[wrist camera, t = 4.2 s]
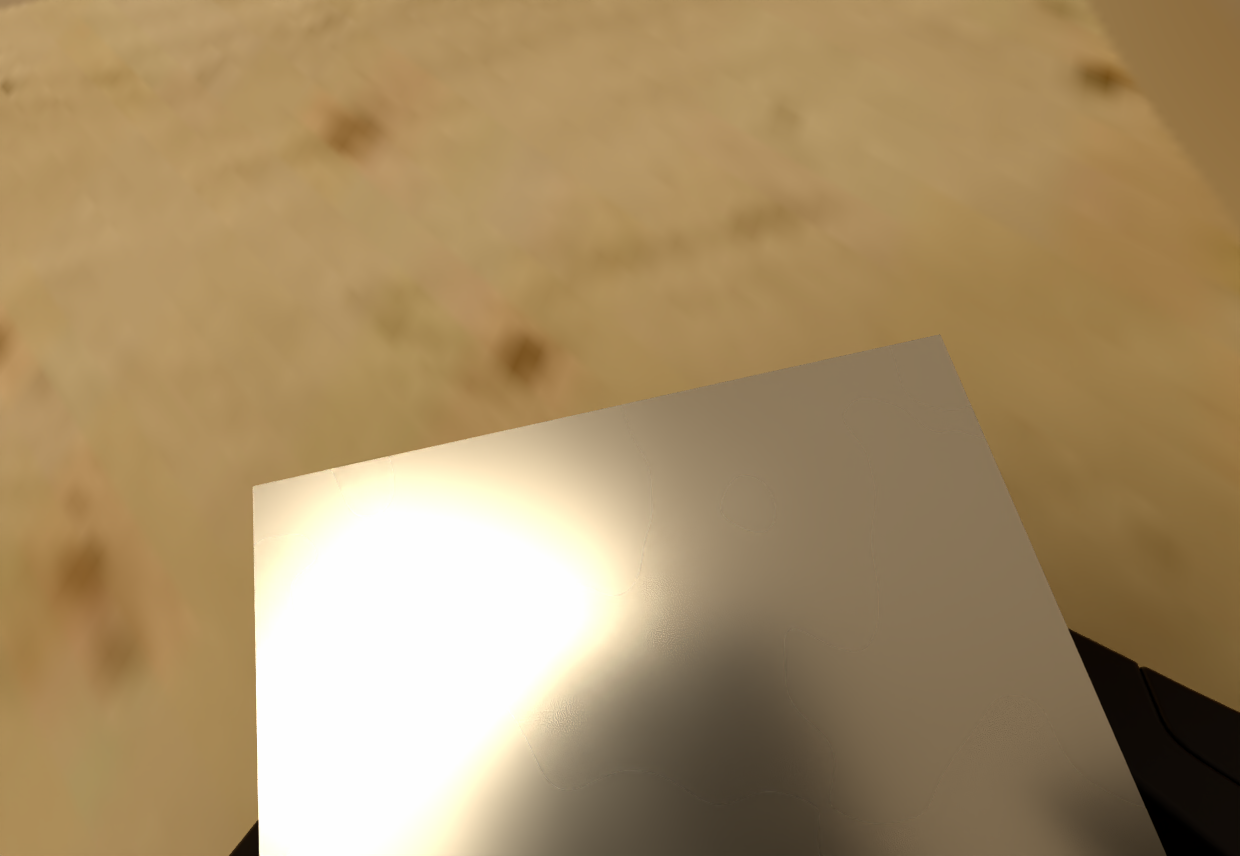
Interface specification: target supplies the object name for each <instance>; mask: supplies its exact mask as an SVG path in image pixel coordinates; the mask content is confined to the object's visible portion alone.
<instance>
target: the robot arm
mask: <svg viewBox="0 0 1240 856" xmlns="http://www.w3.org/2000/svg"><path fill="white" fill-rule="evenodd" d="M1068 630H1069V632H1070V634H1071V637H1072V639H1073V641H1074V644H1075V646H1076V648H1077V651H1078V653H1079V655H1080V657H1081V660H1082V662H1083V664H1084V667H1085V669H1086V671H1087V674H1088V676H1089V678H1090V680H1091V683H1092V685H1093V687H1094V690H1095V692H1096V694H1097V697H1098V699H1099V701H1100V704H1101V706H1102V708H1103V710H1104V713H1105V715H1106V717H1107V720H1108V722H1109V724H1110V727H1111V729H1112V731H1113V733H1114V736H1115V738H1116V740H1117V743H1118V745H1119V747H1120V750H1121V752H1122V754H1123V756H1124V759H1125V761H1126V763H1127V766H1128V768H1129V770H1130V773H1131V775H1132V777H1133V779H1134V782H1135V784H1136V786H1137V789H1138V791H1139V793H1140V796H1141V798H1142V800H1143V802H1144V805H1145V807H1146V809H1147V812H1148V814H1149V816H1150V819H1151V821H1152V823H1153V826H1154V828H1155V830H1156V832H1157V835H1158V837H1159V839H1160V842H1161V844H1162V846H1163V849H1164V851H1165V853H1166V855H1167V856H1240V712H1238V711H1236V710H1233V709H1231V708H1229V707H1227V706H1225V705H1223V704H1221V703H1219V702H1217V701H1215V700H1213V699H1211V698H1208V697H1206V696H1204V695H1202V694H1200V693H1198V692H1196V691H1194V690H1192V689H1190V688H1188V687H1186V686H1184V685H1182V684H1180V683H1178V682H1176V681H1174V680H1172V679H1169V678H1167V677H1165V676H1163V675H1161V674H1159V673H1157V672H1155V671H1153V670H1151V669H1149V668H1147V667H1140V668H1139V666H1138V664H1137V663H1136V662H1135V661H1133V660H1131V659H1129V658H1127V657H1125V656H1123V655H1121V654H1119V653H1117V652H1115V651H1113V650H1111V649H1109V648H1107V647H1105V646H1103V645H1101V644H1099V643H1097V642H1095V641H1093V640H1091V639H1089V638H1087V637H1085V636H1083V635H1081V634H1079V633H1077V632H1075V631H1073V630H1071V629H1069V628H1068ZM229 856H259V819H258V821H257V822H256V823H255V824H254V825H253V827H252V828H251V829H250V830H249V832H248V833H247V834H246V835H245V837H244V838H243V839H242V840H241V842H240V843H239V844H238V845H237V846H236V848H235V849H234V850H233V851H232V853H231V854H230V855H229Z"/></svg>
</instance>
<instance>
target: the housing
mask: <svg viewBox="0 0 1240 856" xmlns="http://www.w3.org/2000/svg"><path fill="white" fill-rule="evenodd" d="M253 523H254V580H255V637H256V693H257V750H258V807H259V856H1167V855H1166V853H1165V851H1164V849H1163V846H1162V844H1161V842H1160V839H1159V837H1158V835H1157V832H1156V830H1155V828H1154V826H1153V823H1152V821H1151V819H1150V816H1149V814H1148V812H1147V809H1146V807H1145V805H1144V802H1143V800H1142V798H1141V796H1140V793H1139V791H1138V789H1137V786H1136V784H1135V782H1134V779H1133V777H1132V775H1131V773H1130V770H1129V768H1128V766H1127V763H1126V761H1125V759H1124V756H1123V754H1122V752H1121V750H1120V747H1119V745H1118V743H1117V740H1116V738H1115V736H1114V733H1113V731H1112V729H1111V727H1110V724H1109V722H1108V720H1107V717H1106V715H1105V713H1104V710H1103V708H1102V706H1101V704H1100V701H1099V699H1098V697H1097V694H1096V692H1095V690H1094V687H1093V685H1092V683H1091V680H1090V678H1089V676H1088V674H1087V671H1086V669H1085V667H1084V664H1083V662H1082V660H1081V657H1080V655H1079V653H1078V651H1077V648H1076V646H1075V644H1074V641H1073V639H1072V637H1071V634H1070V632H1069V630H1068V628H1067V625H1066V623H1065V621H1064V618H1063V616H1062V614H1061V611H1060V609H1059V607H1058V605H1057V602H1056V600H1055V598H1054V595H1053V593H1052V591H1051V588H1050V586H1049V584H1048V581H1047V579H1046V577H1045V575H1044V572H1043V570H1042V568H1041V565H1040V563H1039V561H1038V558H1037V556H1036V554H1035V552H1034V549H1033V547H1032V545H1031V542H1030V540H1029V538H1028V535H1027V533H1026V531H1025V529H1024V526H1023V524H1022V522H1021V519H1020V517H1019V515H1018V512H1017V510H1016V508H1015V506H1014V503H1013V501H1012V499H1011V496H1010V494H1009V492H1008V489H1007V487H1006V485H1005V482H1004V480H1003V478H1002V476H1001V473H1000V471H999V469H998V466H997V464H996V462H995V459H994V457H993V455H992V453H991V450H990V448H989V446H988V443H987V441H986V439H985V436H984V434H983V432H982V430H981V427H980V425H979V423H978V420H977V418H976V416H975V413H974V411H973V409H972V407H971V404H970V402H969V400H968V397H967V395H966V393H965V390H964V388H963V386H962V384H961V381H960V379H959V377H958V374H957V372H956V370H955V367H954V365H953V363H952V360H951V358H950V356H949V354H948V351H947V349H946V347H945V344H944V342H943V340H942V337H941V335H935V336H931V337H926V338H922V339H917V340H913V341H908V342H904V343H899V344H895V345H890V346H885V347H881V348H876V349H872V350H867V351H863V352H858V353H854V354H849V355H845V356H840V357H836V358H831V359H827V360H822V361H818V362H813V363H809V364H804V365H800V366H795V367H791V368H786V369H781V370H777V371H772V372H768V373H763V374H759V375H754V376H750V377H745V378H741V379H736V380H732V381H727V382H723V383H718V384H714V385H709V386H705V387H700V388H696V389H691V390H686V391H682V392H677V393H673V394H668V395H664V396H659V397H655V398H650V399H646V400H641V401H637V402H632V403H628V404H623V405H619V406H614V407H610V408H605V409H601V410H596V411H592V412H587V413H582V414H578V415H573V416H569V417H564V418H560V419H555V420H551V421H546V422H542V423H537V424H533V425H528V426H524V427H519V428H515V429H510V430H506V431H501V432H497V433H492V434H488V435H483V436H478V437H474V438H469V439H465V440H460V441H456V442H451V443H447V444H442V445H438V446H433V447H429V448H424V449H420V450H415V451H411V452H406V453H402V454H397V455H393V456H388V457H384V458H379V459H374V460H370V461H365V462H361V463H356V464H352V465H347V466H343V467H338V468H334V469H329V470H325V471H320V472H316V473H311V474H307V475H302V476H298V477H293V478H289V479H284V480H279V481H275V482H270V483H266V484H261V485H257V486H253Z"/></svg>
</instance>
